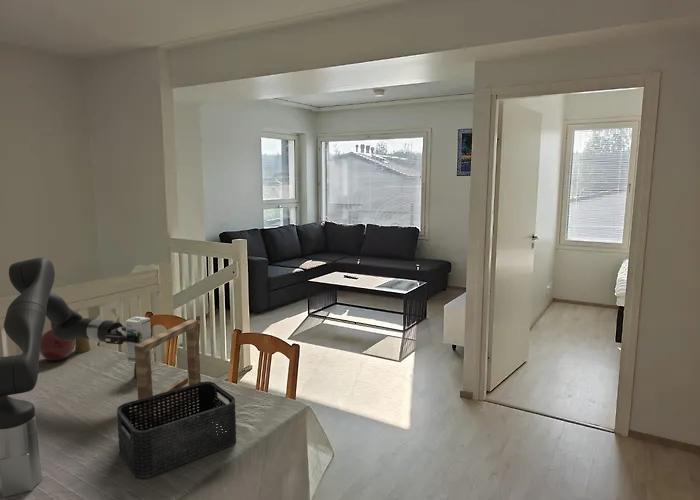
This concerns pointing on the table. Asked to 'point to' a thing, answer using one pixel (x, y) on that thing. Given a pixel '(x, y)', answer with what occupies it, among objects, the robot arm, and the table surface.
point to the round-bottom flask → (55, 346)
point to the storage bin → (175, 428)
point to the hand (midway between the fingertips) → (144, 336)
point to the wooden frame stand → (145, 363)
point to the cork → (82, 345)
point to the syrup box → (137, 334)
